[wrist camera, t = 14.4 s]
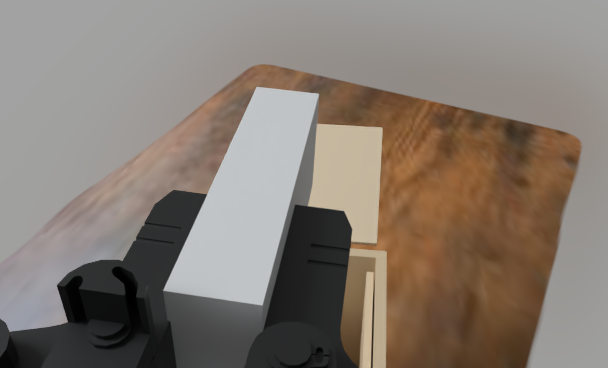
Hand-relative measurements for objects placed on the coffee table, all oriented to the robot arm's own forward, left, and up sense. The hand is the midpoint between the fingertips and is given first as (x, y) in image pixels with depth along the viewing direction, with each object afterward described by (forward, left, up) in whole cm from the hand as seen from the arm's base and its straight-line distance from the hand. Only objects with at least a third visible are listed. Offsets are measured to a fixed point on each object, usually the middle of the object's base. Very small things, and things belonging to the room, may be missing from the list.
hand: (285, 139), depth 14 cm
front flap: (+1, -17, -14) cm, 22 cm away
